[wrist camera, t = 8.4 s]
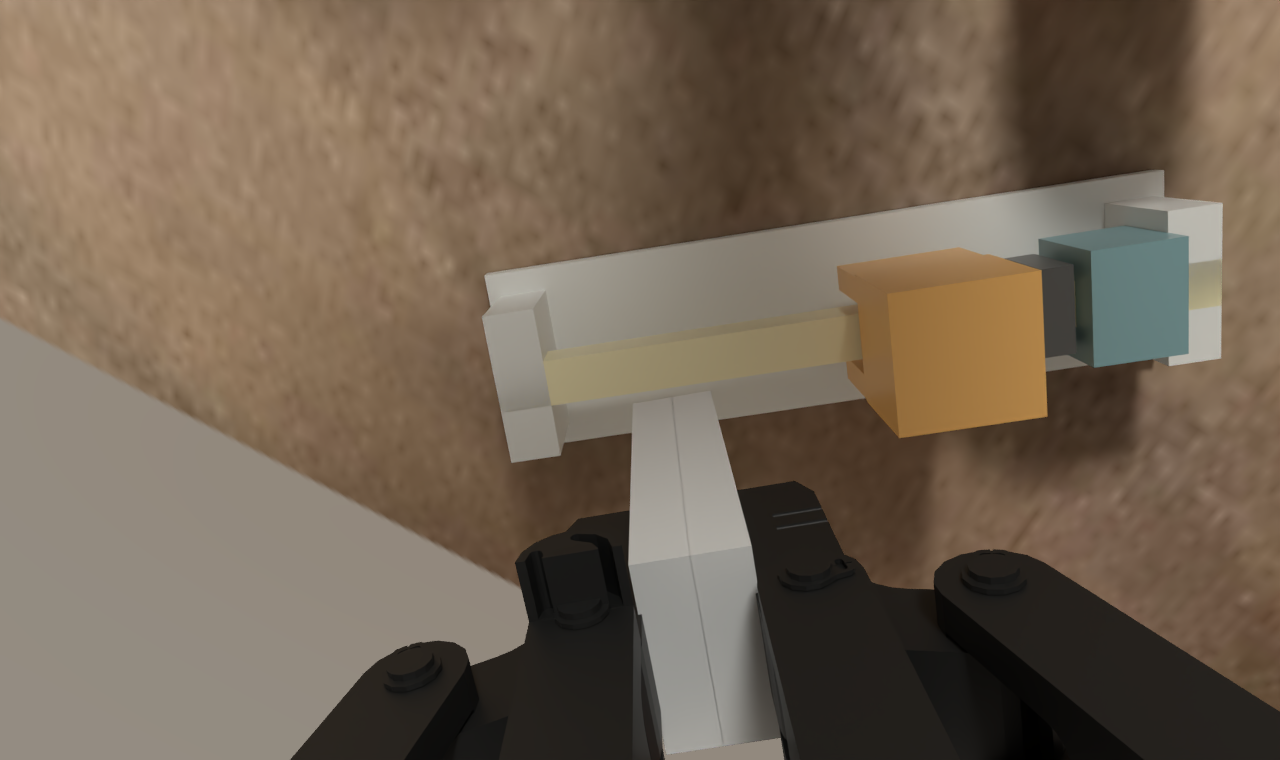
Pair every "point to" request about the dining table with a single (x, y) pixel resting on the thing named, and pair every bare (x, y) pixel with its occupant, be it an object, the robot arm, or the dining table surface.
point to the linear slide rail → (838, 304)
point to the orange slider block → (948, 340)
